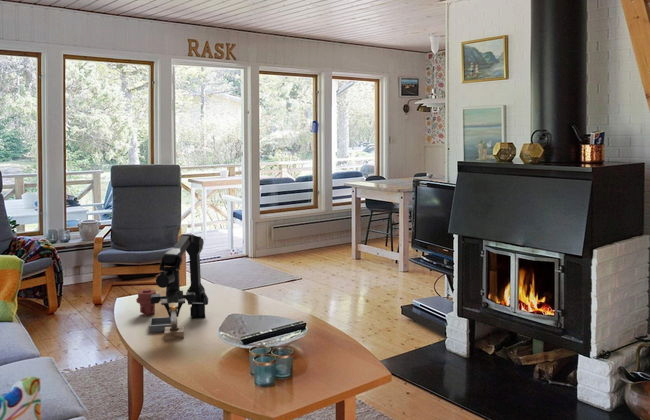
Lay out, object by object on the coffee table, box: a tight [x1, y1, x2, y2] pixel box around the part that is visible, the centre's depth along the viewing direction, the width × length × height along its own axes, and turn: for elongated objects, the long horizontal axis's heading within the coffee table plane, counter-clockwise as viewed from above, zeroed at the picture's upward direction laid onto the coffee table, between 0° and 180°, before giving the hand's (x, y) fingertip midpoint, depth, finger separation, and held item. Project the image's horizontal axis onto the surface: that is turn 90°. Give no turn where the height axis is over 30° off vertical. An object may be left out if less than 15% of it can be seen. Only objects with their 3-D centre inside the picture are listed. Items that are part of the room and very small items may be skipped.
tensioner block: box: [164, 325, 185, 341], centre depth 259 cm, size 8×8×3 cm
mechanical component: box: [135, 288, 157, 317], centre depth 289 cm, size 12×10×10 cm
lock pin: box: [169, 305, 178, 328], centre depth 258 cm, size 3×3×9 cm
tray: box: [148, 316, 171, 334], centre depth 270 cm, size 12×12×3 cm
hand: (173, 316), depth 258 cm, fingers closed on lock pin, 3 cm apart
